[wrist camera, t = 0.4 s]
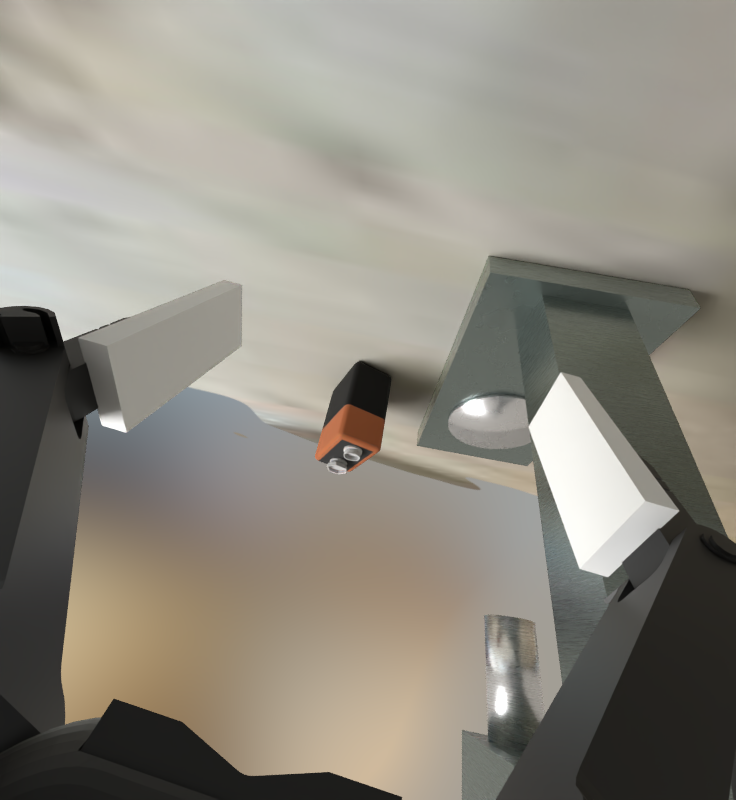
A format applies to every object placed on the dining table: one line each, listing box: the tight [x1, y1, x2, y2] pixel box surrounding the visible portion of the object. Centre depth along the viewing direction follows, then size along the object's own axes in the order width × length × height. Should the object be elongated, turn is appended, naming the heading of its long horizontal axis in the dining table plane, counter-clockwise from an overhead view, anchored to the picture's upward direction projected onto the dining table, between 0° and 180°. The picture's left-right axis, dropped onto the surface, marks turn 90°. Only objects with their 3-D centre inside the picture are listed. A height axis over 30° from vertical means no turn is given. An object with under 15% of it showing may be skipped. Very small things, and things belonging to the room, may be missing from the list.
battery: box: [315, 362, 391, 474], centre depth 35 cm, size 4×7×10 cm, turn 152°
